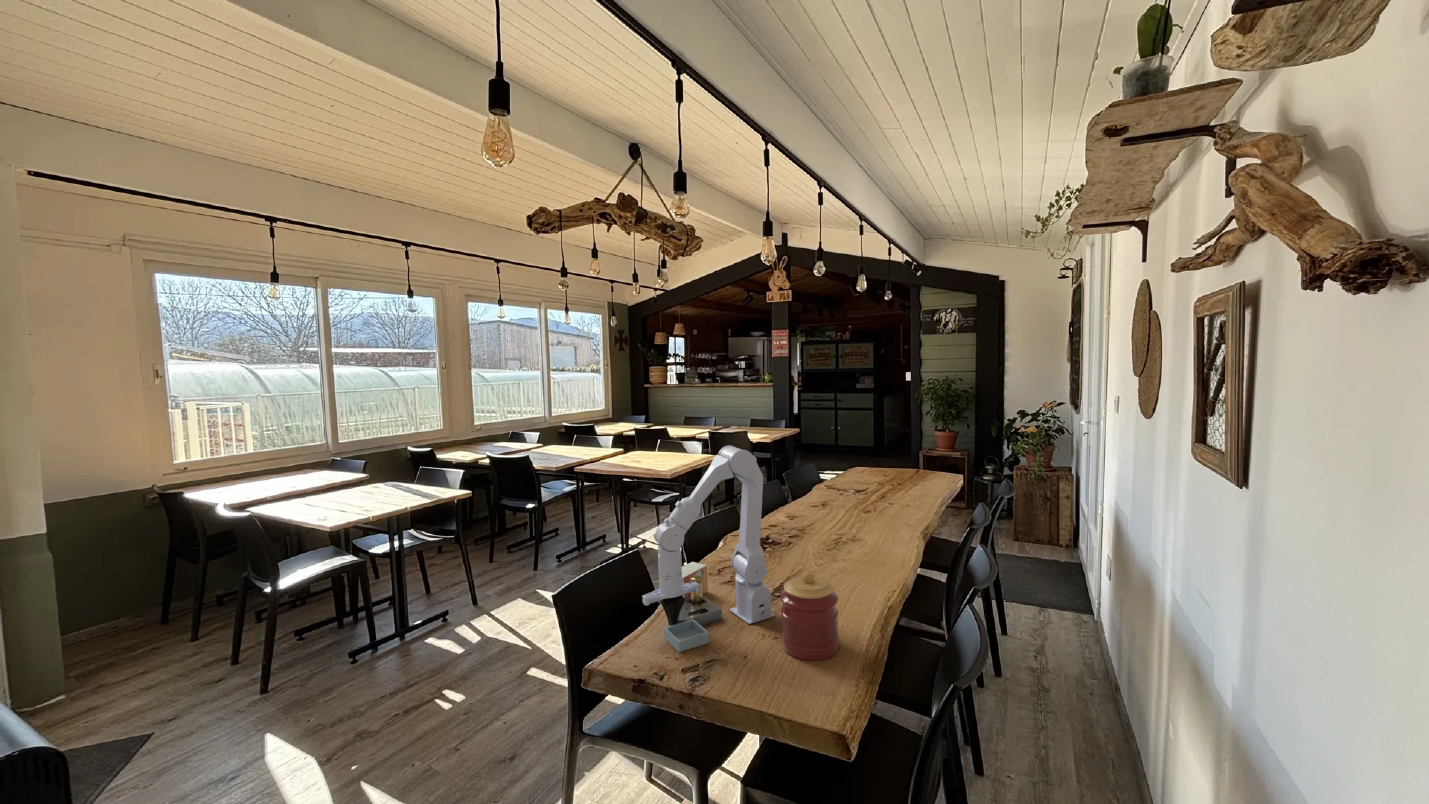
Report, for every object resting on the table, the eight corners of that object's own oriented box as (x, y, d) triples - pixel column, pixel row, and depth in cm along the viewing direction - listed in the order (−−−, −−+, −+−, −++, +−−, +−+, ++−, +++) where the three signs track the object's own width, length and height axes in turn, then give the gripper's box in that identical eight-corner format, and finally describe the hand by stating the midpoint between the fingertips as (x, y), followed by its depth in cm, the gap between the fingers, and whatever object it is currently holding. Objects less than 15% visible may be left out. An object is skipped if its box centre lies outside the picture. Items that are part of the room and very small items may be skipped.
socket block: (722, 619, 143) (721, 609, 143) (694, 627, 139) (694, 617, 139) (701, 603, 153) (701, 594, 152) (675, 611, 149) (675, 601, 149)
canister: (800, 627, 137) (798, 557, 136) (849, 643, 129) (847, 569, 128) (770, 650, 127) (768, 575, 126) (821, 668, 119) (819, 588, 118)
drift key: (703, 624, 141) (703, 614, 141) (679, 631, 138) (679, 621, 137) (697, 619, 144) (697, 609, 143) (674, 626, 140) (673, 616, 140)
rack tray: (709, 642, 132) (708, 632, 131) (678, 652, 128) (678, 641, 127) (693, 629, 138) (693, 619, 138) (664, 637, 135) (663, 628, 134)
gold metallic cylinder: (705, 611, 148) (703, 578, 147) (694, 614, 146) (693, 581, 146) (699, 607, 151) (698, 574, 150) (689, 610, 149) (688, 577, 148)
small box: (708, 591, 160) (685, 605, 152) (693, 587, 164) (669, 601, 155) (707, 564, 160) (683, 577, 151) (692, 560, 163) (668, 573, 155)
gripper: (689, 561, 144) (691, 612, 145) (636, 573, 137) (639, 627, 138) (702, 569, 138) (704, 622, 139) (647, 583, 131) (650, 638, 132)
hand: (672, 625), depth 138 cm, fingers closed
